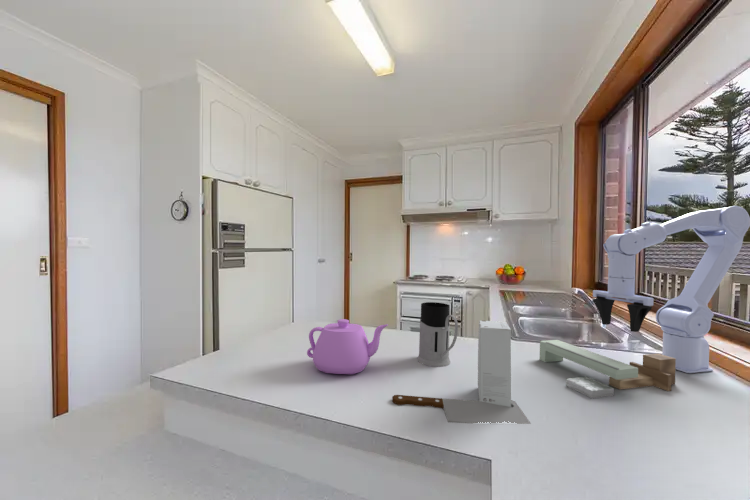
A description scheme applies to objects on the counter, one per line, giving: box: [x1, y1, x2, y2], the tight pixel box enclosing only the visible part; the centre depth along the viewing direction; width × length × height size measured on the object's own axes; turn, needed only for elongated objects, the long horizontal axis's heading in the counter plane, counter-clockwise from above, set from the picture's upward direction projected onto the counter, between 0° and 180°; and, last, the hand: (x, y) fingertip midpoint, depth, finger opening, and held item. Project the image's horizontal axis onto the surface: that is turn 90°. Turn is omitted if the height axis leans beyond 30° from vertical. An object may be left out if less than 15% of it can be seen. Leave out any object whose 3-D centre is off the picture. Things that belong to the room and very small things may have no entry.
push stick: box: [608, 353, 676, 392], centre depth 71 cm, size 16×8×6 cm, turn 105°
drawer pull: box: [539, 339, 638, 379], centre depth 76 cm, size 6×21×6 cm, turn 15°
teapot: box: [306, 318, 389, 376], centre depth 75 cm, size 20×13×12 cm, turn 85°
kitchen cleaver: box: [392, 394, 532, 425], centre depth 56 cm, size 24×1×10 cm
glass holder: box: [417, 301, 459, 368], centre depth 79 cm, size 9×14×15 cm, turn 21°
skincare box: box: [477, 320, 512, 407], centre depth 62 cm, size 8×6×15 cm
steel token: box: [565, 376, 615, 399], centre depth 66 cm, size 6×6×2 cm
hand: (619, 327), depth 83 cm, fingers open, 7 cm apart
